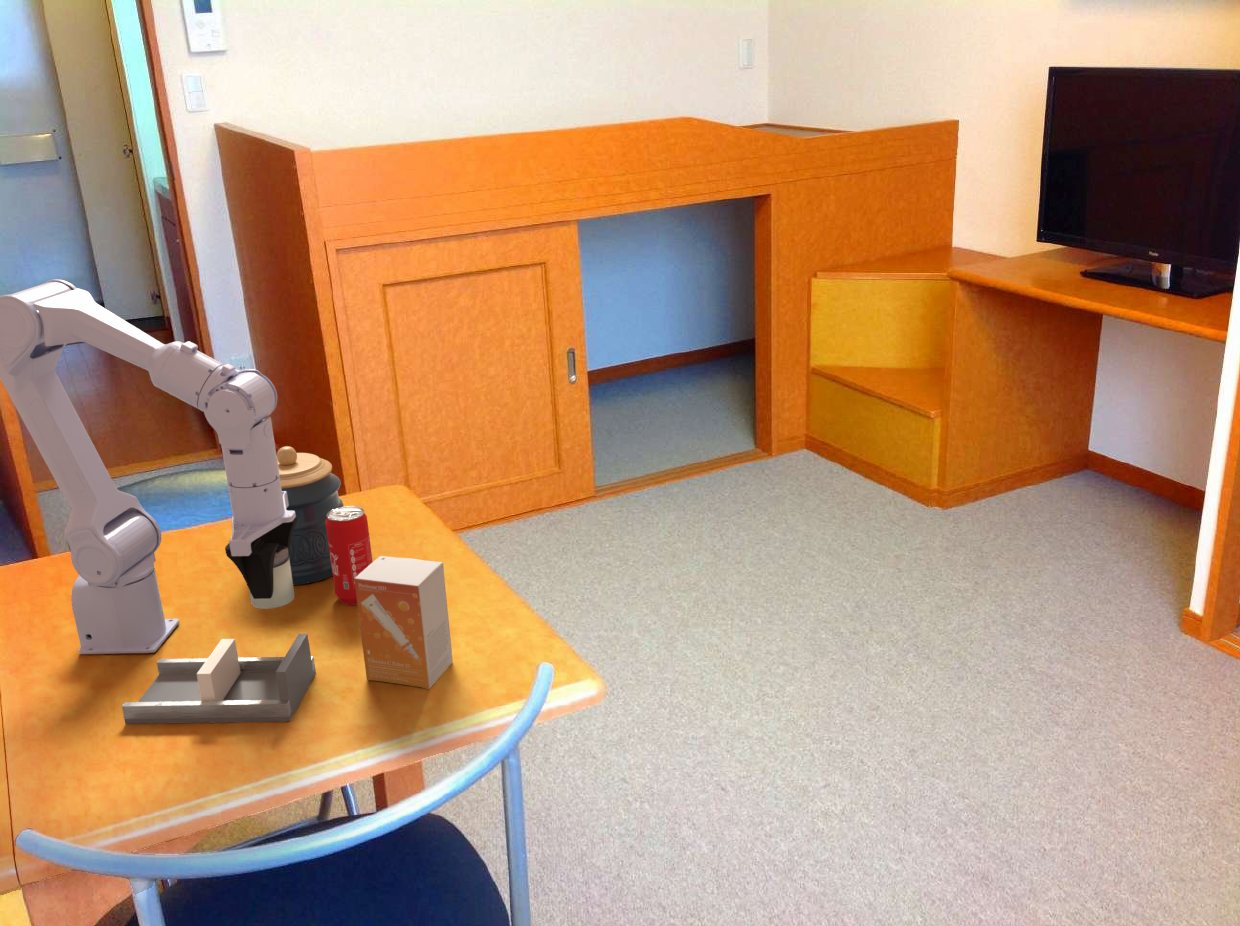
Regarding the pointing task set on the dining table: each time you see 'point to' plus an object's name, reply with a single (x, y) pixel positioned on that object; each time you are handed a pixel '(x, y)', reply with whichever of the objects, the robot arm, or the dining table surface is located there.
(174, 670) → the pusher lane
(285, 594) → the cream jar with lid
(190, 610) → the dining table surface
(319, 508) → the canister
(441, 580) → the small box
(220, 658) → the block
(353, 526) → the beverage can
